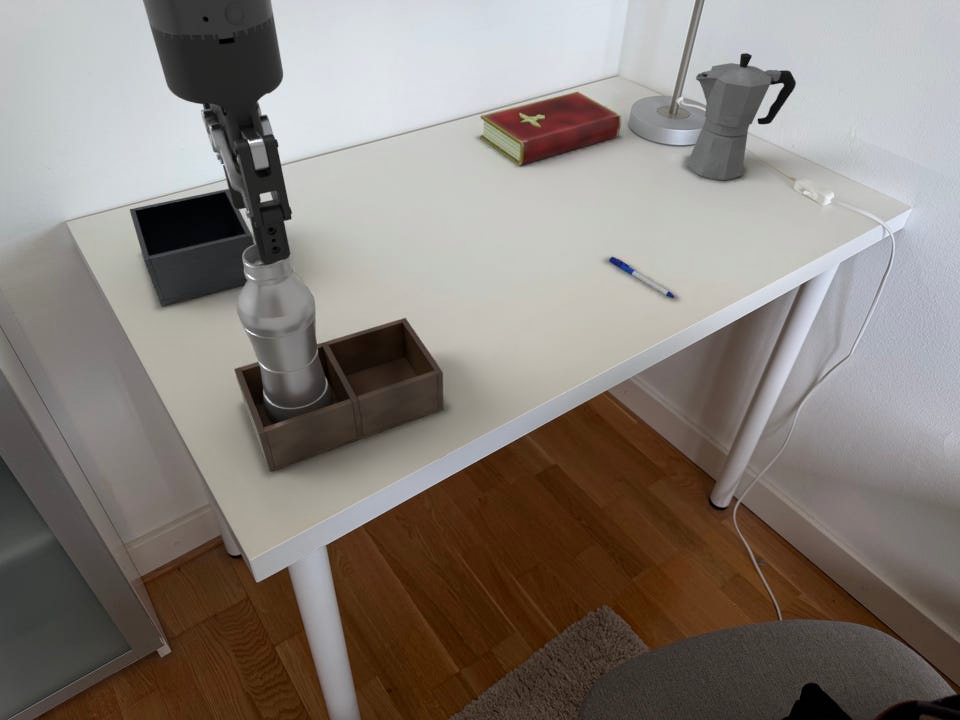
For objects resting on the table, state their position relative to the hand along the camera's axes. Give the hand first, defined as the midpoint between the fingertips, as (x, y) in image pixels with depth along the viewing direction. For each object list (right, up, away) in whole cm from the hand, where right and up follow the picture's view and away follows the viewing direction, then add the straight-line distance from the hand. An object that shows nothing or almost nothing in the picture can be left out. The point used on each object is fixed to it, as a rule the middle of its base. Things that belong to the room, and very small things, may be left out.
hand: (260, 231), depth 54 cm
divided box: (+3, -15, +17) cm, 23 cm away
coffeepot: (+57, +21, +58) cm, 84 cm away
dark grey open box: (-18, +2, +34) cm, 39 cm away
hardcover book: (+29, +28, +65) cm, 76 cm away
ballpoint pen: (+38, 0, +35) cm, 52 cm away
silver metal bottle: (-1, -16, +15) cm, 22 cm away
